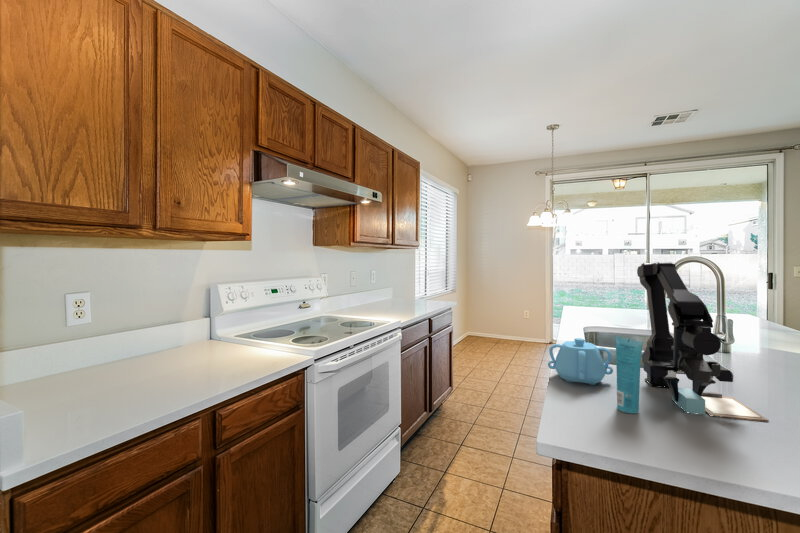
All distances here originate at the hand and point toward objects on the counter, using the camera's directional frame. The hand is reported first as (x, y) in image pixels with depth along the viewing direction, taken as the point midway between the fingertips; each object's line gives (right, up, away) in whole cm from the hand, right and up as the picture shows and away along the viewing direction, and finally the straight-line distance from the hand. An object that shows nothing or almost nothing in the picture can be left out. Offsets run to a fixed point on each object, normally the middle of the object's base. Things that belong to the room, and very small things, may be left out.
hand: (685, 402), depth 99 cm
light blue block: (0, -1, 0) cm, 1 cm away
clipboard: (+9, -1, -1) cm, 9 cm away
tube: (-17, -2, -2) cm, 18 cm away
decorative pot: (-18, -1, +22) cm, 28 cm away
